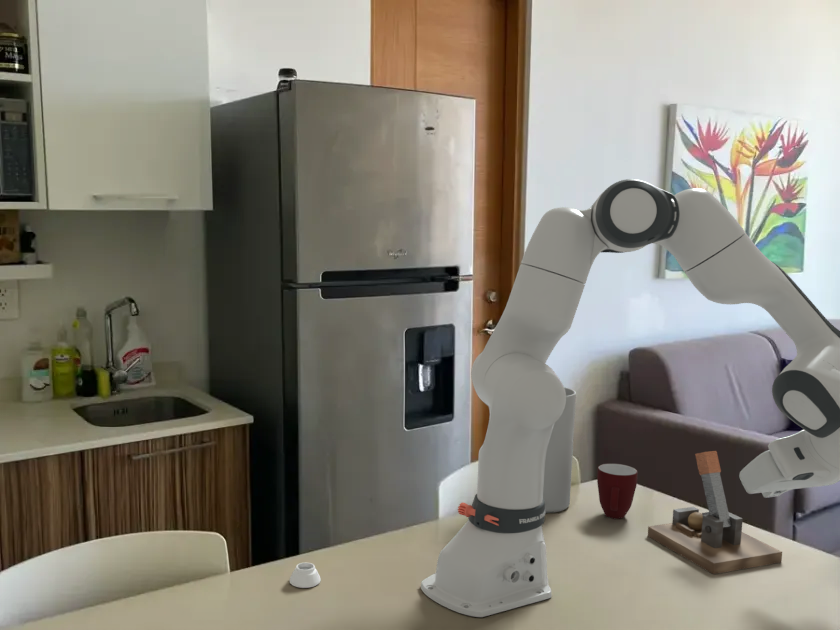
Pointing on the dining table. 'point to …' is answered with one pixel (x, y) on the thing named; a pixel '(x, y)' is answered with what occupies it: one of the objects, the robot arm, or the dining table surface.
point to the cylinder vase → (560, 458)
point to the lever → (713, 486)
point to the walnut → (695, 521)
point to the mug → (616, 488)
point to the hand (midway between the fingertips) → (768, 493)
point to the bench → (712, 555)
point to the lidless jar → (305, 575)
